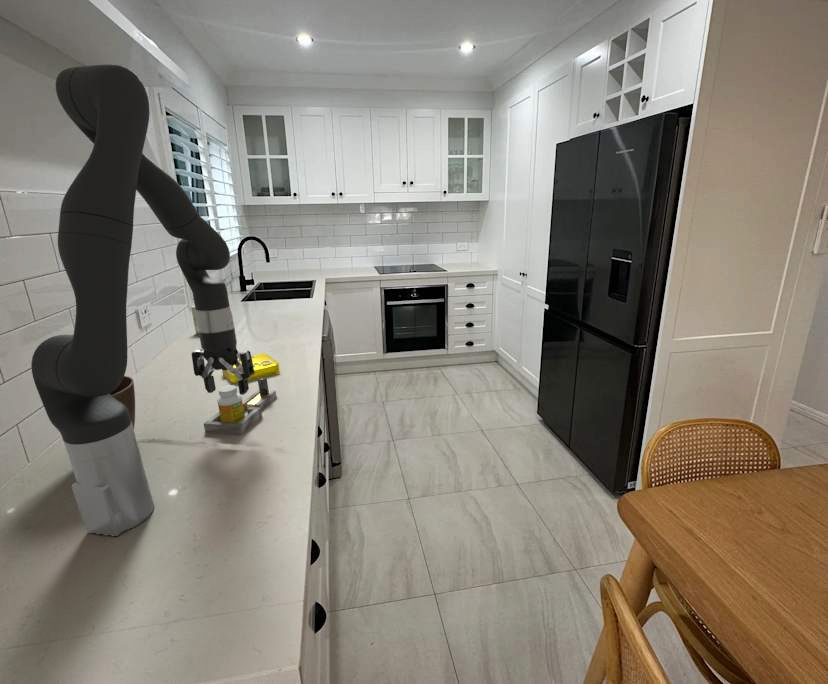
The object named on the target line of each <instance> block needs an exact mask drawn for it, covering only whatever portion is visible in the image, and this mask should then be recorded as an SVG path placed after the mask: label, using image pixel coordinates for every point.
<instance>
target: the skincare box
mask: <svg viewBox="0 0 828 684" xmlns="http://www.w3.org/2000/svg"><path fill="white" fill-rule="evenodd" d="M190 309H191V313H192V319H193V324H194V331H195V334H199V332H198V326H197V321H196V309H195V305H192V306H191V308H190Z"/></svg>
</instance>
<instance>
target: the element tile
mask: <svg viewBox="0 0 828 684" xmlns="http://www.w3.org/2000/svg"><path fill="white" fill-rule="evenodd" d="M251 358H252V362H253V367H254V372H255V373H254V374H253V375H252V376H250V377H249V378H247V380H248V382H249V381H253V380H256V379H257V380H258V379H259V378H262V377H268V376H273V375H281V372H280V364H279V362H278V361H276V360H275V359H274V358H273V357H272V356H270V355H268V354H267V353H265V352H263V353H258V354H254V355H251ZM238 361H239V358H238ZM239 362H240V363H241V361H239ZM241 364H242V363H241ZM233 367H234V368H236V366H235V365H234V366H233ZM221 372H222V376H223V377H224V379H226V380H227V379H228V381H229V382H230V383H231V384H238V378H237V377H236V376H235V375H234V374H231V373H230V372H229V370H222V369H221Z"/></svg>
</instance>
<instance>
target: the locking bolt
mask: <svg viewBox="0 0 828 684" xmlns="http://www.w3.org/2000/svg"><path fill="white" fill-rule="evenodd" d="M268 383H269V382H268V378H267V376H265V377H261V378H257V385H258V390H259V392H260V394H258V395H257V396H256V397H255V398H253V399H252V400H251V401H250V402H248V403H247V404H246V405H247V409H248V408H249V407H255V404H256V403H258V402H259V401H260V400H261V399H262V398H264V397H265V396H266V395H267V394H269V393H270V392H271V391H270V390H269V384H268ZM247 409H246V410H247Z"/></svg>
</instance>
